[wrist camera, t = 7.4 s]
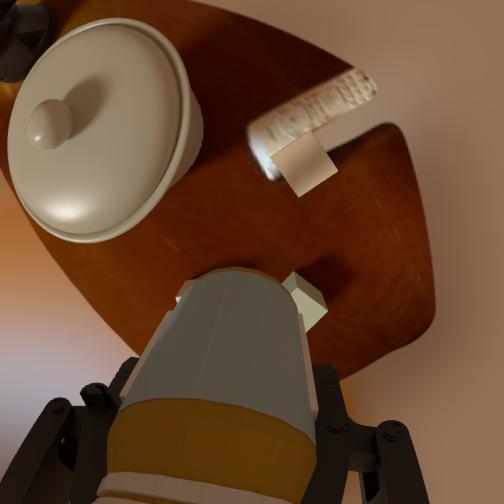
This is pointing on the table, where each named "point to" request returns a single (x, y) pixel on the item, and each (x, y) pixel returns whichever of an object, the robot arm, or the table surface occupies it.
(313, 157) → the birch cube
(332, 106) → the table surface
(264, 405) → the bottle
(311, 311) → the sage cube
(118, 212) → the canister
